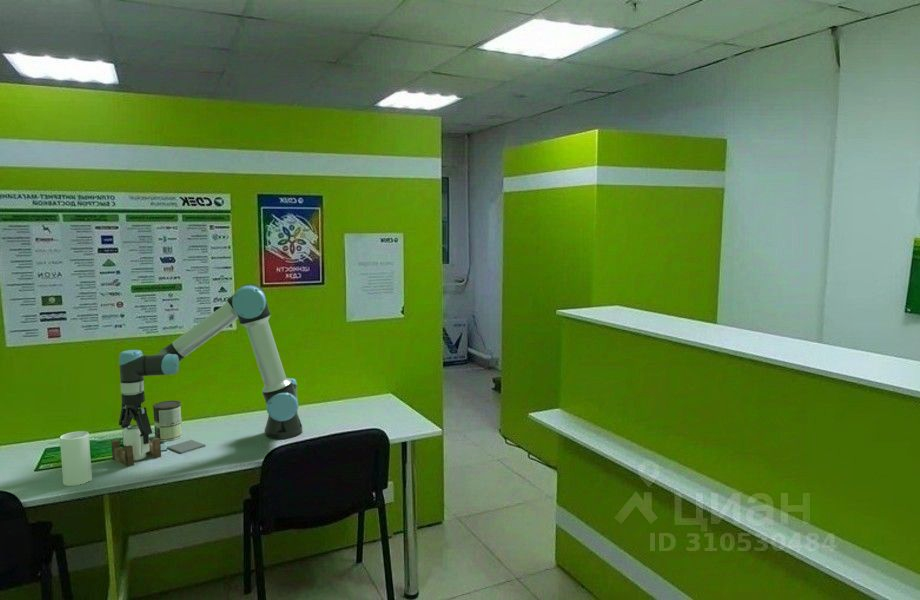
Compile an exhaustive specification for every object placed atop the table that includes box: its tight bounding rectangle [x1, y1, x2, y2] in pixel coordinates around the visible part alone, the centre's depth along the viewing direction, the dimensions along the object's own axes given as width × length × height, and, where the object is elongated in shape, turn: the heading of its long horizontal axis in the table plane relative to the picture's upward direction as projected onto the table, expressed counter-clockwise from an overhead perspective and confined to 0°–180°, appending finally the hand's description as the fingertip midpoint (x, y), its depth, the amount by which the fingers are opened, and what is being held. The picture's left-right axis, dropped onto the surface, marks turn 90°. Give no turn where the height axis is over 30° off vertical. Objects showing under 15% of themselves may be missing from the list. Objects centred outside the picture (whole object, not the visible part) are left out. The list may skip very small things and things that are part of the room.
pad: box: [166, 439, 206, 454], centre depth 235 cm, size 10×10×1 cm
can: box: [125, 424, 148, 462], centre depth 224 cm, size 6×6×12 cm
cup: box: [59, 430, 93, 487], centre depth 203 cm, size 8×8×16 cm
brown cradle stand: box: [110, 437, 162, 467], centre depth 224 cm, size 12×12×7 cm
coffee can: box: [152, 400, 183, 442], centre depth 246 cm, size 10×10×14 cm
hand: (136, 448), depth 224 cm, fingers open, 13 cm apart
